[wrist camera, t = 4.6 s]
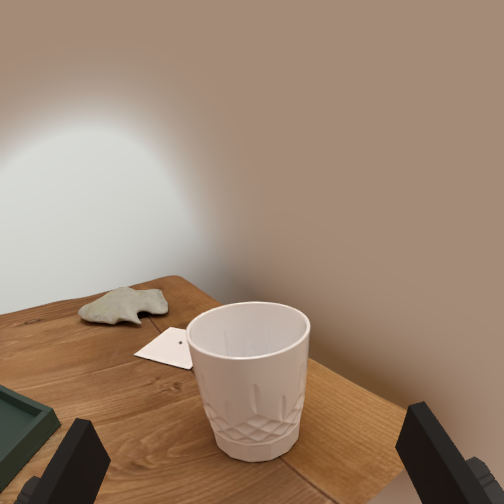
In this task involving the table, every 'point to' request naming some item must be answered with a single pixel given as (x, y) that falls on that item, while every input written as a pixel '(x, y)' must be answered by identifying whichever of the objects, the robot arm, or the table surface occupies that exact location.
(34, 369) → the table surface
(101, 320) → the arrowhead
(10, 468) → the coaster tray
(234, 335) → the white cup
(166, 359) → the coaster
